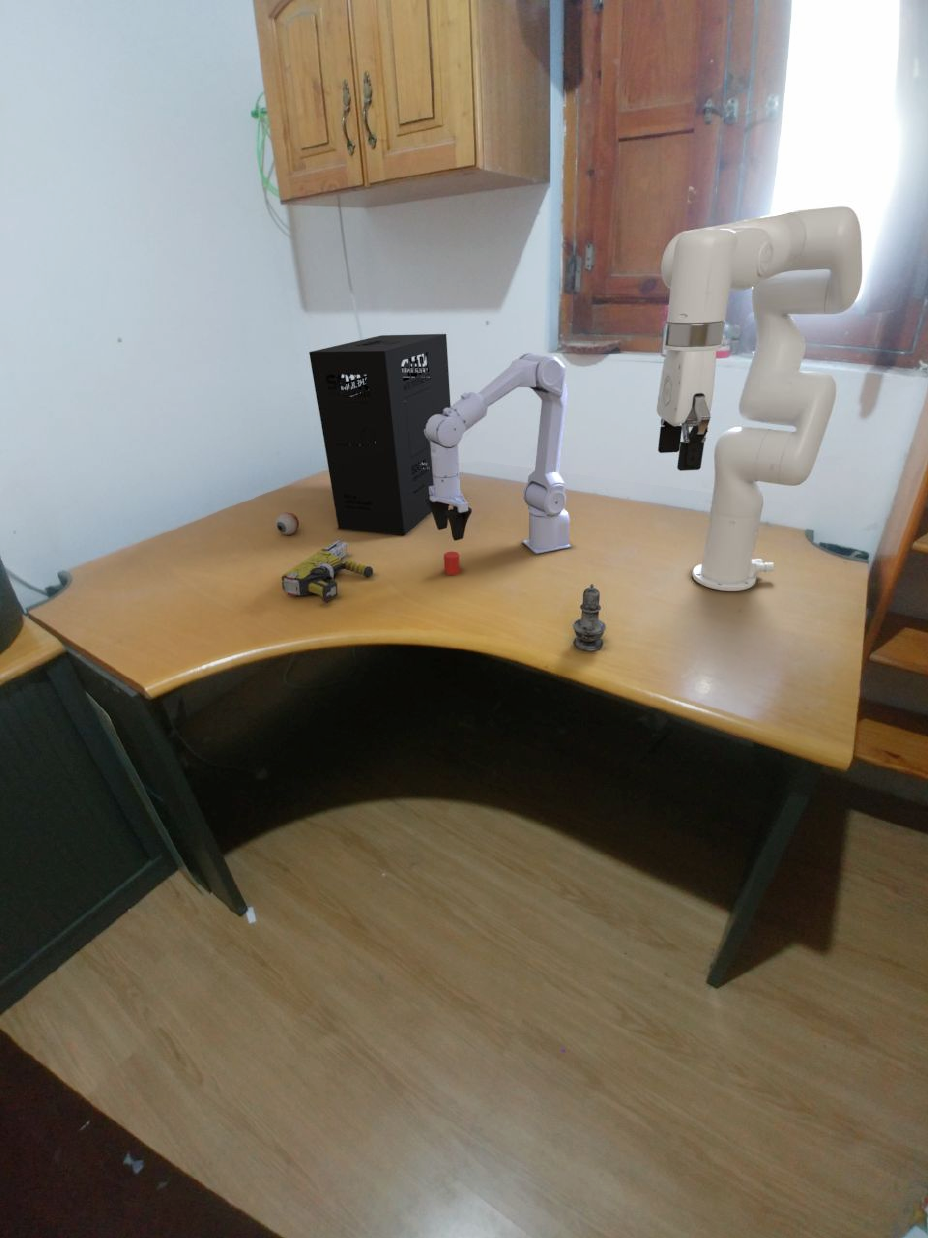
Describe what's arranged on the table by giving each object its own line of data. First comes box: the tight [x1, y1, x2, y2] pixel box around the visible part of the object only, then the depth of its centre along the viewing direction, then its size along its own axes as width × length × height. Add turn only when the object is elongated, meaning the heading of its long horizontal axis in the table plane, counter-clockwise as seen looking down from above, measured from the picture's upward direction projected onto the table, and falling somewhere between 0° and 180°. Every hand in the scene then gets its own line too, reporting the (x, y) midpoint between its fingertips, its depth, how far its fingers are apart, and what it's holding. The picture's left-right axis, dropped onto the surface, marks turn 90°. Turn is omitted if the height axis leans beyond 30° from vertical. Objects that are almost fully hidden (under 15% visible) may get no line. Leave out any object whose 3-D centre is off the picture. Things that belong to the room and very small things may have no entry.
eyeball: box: [275, 511, 300, 536], centre depth 163 cm, size 6×6×6 cm
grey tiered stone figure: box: [572, 583, 607, 652], centre depth 107 cm, size 6×6×12 cm
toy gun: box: [281, 539, 374, 603], centre depth 138 cm, size 5×24×15 cm
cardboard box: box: [308, 333, 452, 536], centre depth 167 cm, size 38×20×45 cm, turn 160°
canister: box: [443, 551, 461, 576], centre depth 138 cm, size 4×4×4 cm
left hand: (450, 533), depth 135 cm, fingers open, 7 cm apart
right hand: (678, 460), depth 91 cm, fingers open, 9 cm apart
